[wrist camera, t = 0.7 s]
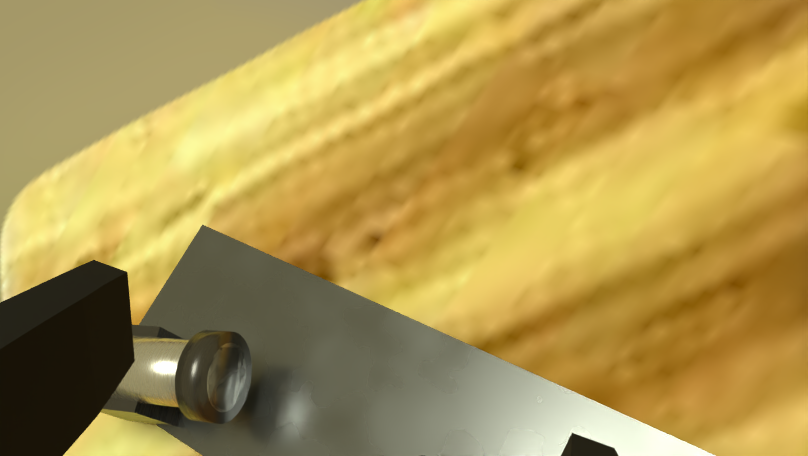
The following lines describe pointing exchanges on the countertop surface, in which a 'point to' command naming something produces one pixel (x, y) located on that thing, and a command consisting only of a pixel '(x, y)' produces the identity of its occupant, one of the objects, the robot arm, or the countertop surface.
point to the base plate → (366, 373)
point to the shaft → (183, 378)
